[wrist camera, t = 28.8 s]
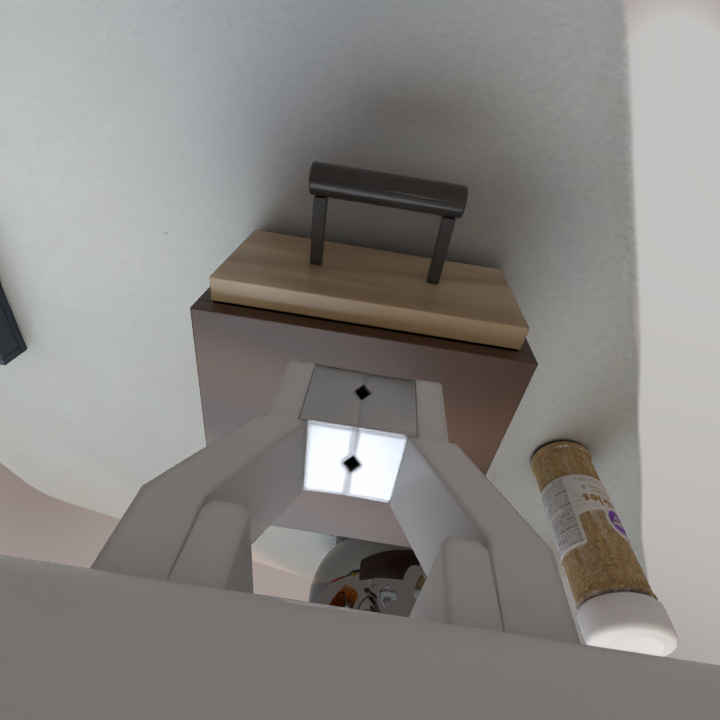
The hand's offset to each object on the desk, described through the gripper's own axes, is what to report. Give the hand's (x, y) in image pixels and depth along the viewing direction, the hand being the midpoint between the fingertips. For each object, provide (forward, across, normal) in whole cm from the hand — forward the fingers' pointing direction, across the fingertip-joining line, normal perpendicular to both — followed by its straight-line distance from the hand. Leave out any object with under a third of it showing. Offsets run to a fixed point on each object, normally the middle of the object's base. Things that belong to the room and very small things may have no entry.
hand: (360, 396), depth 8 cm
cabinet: (+18, 0, +12) cm, 21 cm away
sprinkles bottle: (+18, -17, +18) cm, 30 cm away
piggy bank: (+17, -5, +32) cm, 37 cm away
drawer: (+17, 0, +8) cm, 18 cm away
